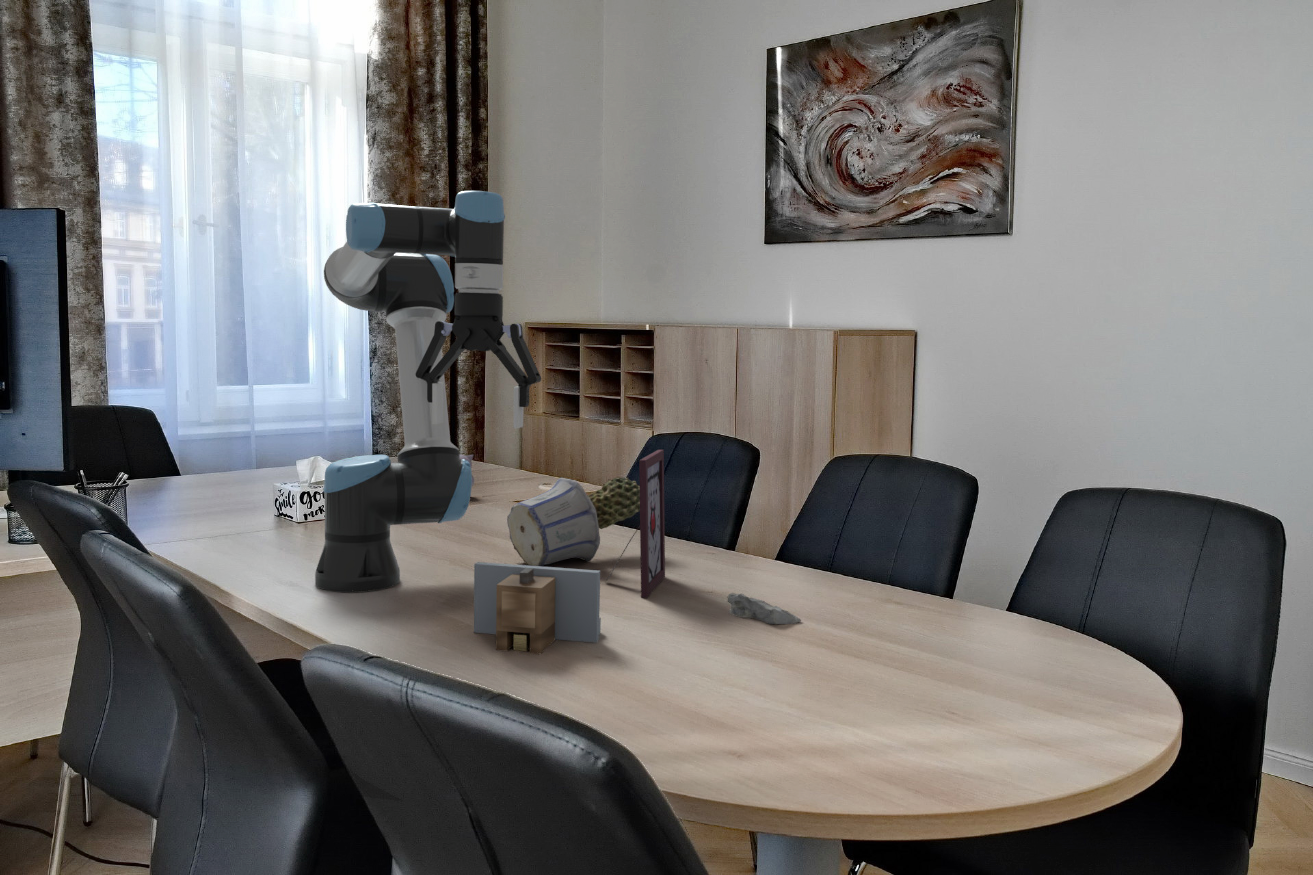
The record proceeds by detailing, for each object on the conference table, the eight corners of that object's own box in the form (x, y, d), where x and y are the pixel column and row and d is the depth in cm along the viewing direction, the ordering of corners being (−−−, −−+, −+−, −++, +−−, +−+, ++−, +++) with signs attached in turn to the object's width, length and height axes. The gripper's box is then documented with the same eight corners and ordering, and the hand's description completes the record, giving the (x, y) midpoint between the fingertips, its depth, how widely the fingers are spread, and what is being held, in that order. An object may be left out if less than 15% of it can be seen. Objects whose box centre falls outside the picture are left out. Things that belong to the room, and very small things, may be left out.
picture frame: (647, 598, 192) (650, 460, 190) (594, 594, 194) (596, 457, 192) (665, 577, 209) (668, 449, 206) (616, 573, 211) (618, 447, 208)
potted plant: (538, 503, 204) (657, 456, 222) (491, 494, 218) (606, 450, 236) (558, 588, 208) (673, 535, 226) (510, 574, 222) (622, 525, 240)
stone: (749, 609, 188) (749, 586, 188) (804, 622, 180) (804, 598, 179) (724, 616, 184) (724, 592, 184) (779, 630, 175) (779, 605, 175)
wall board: (473, 632, 169) (474, 564, 168) (486, 622, 174) (486, 556, 173) (596, 642, 165) (597, 572, 164) (605, 632, 170) (606, 565, 169)
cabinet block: (495, 650, 160) (496, 574, 159) (511, 636, 167) (512, 564, 166) (540, 654, 159) (541, 577, 158) (554, 640, 166) (555, 567, 165)
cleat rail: (513, 650, 160) (513, 634, 160) (528, 636, 167) (528, 622, 167) (526, 651, 160) (526, 635, 160) (540, 638, 167) (540, 623, 167)
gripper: (394, 289, 168) (394, 423, 170) (547, 293, 163) (545, 431, 165) (414, 290, 175) (414, 419, 177) (561, 294, 170) (559, 426, 173)
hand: (477, 425), depth 171 cm, fingers open, 13 cm apart
